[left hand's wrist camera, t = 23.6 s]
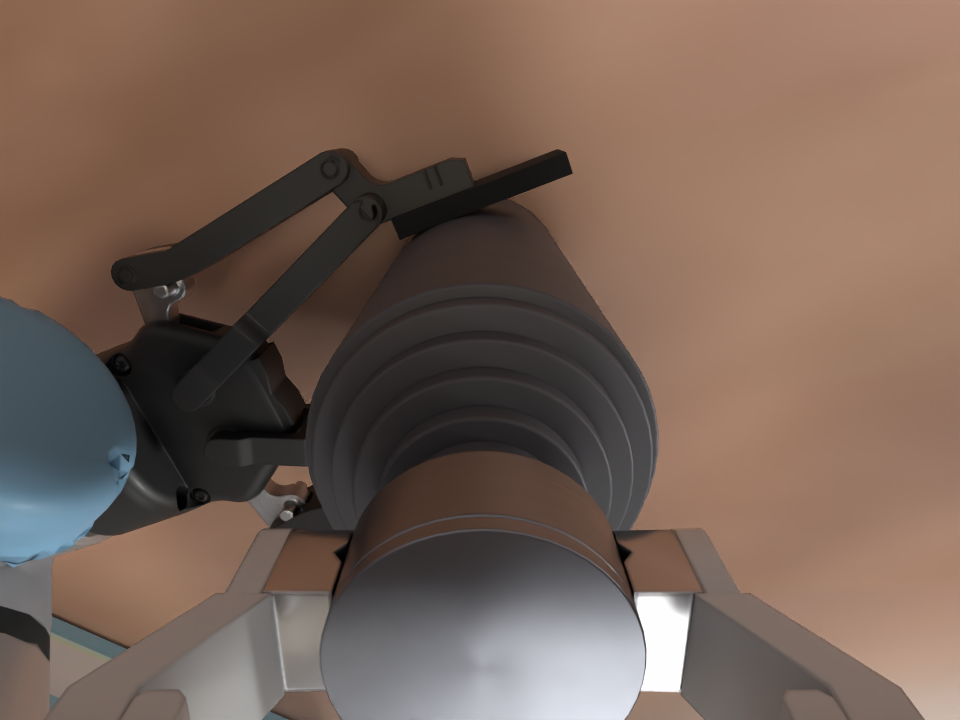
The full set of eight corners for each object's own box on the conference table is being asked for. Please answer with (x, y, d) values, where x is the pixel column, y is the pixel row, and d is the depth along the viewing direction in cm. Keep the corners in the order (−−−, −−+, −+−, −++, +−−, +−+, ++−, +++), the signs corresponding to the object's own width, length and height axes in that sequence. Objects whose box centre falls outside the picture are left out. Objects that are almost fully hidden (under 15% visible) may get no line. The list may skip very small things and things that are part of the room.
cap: (661, 606, 11) (701, 712, 9) (440, 705, 12) (431, 823, 10) (535, 399, 9) (548, 471, 8) (295, 527, 10) (251, 622, 8)
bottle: (579, 217, 30) (845, 451, 8) (536, 366, 33) (650, 849, 11) (419, 176, 30) (247, 312, 8) (387, 331, 32) (187, 769, 10)
